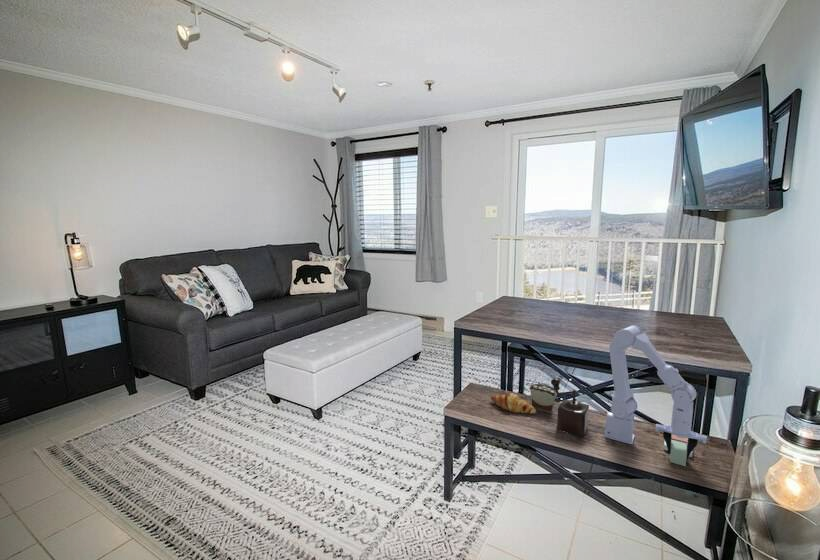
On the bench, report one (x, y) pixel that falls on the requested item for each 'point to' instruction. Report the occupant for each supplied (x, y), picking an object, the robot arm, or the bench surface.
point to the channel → (678, 440)
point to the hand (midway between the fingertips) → (677, 455)
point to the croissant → (513, 403)
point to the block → (678, 452)
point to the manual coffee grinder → (571, 413)
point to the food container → (543, 397)
